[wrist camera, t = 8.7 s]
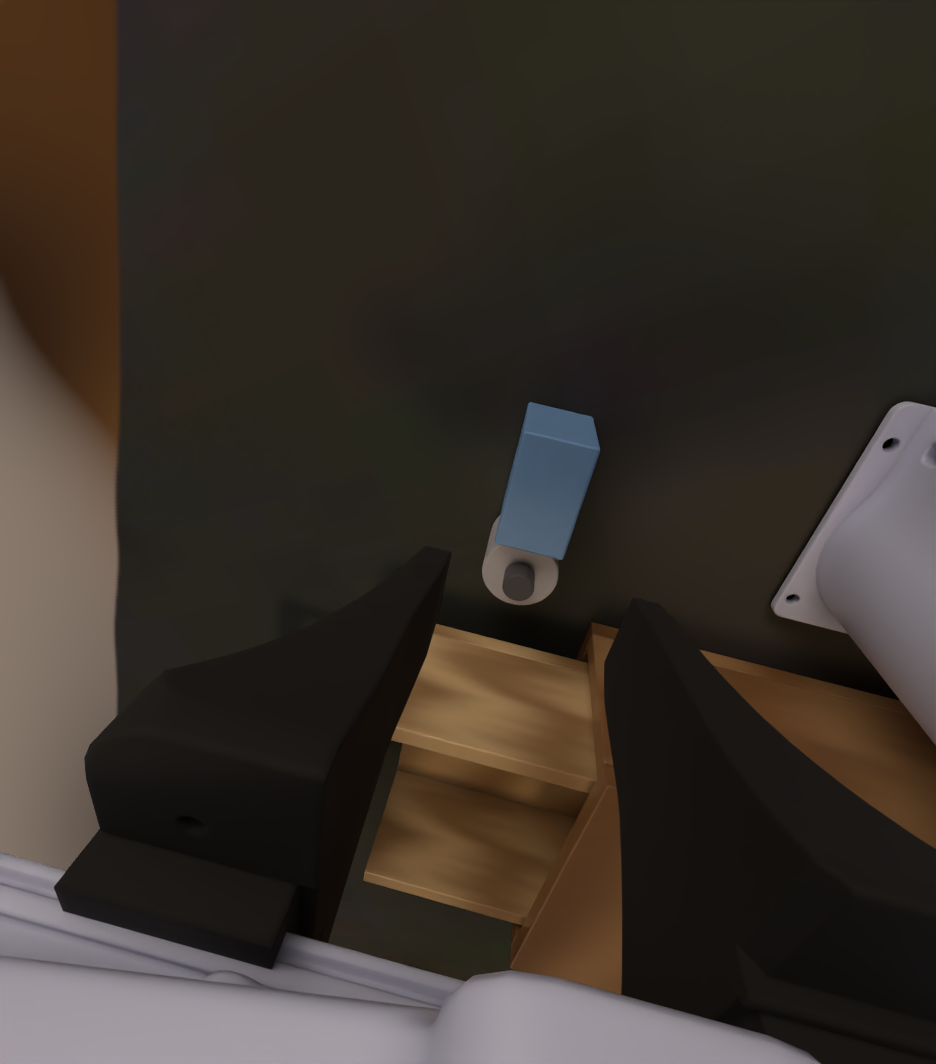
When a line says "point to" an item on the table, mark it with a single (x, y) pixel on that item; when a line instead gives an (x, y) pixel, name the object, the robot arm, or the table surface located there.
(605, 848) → the cabinet
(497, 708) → the drawer
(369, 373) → the table surface
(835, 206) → the table surface
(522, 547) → the blue block on disc
